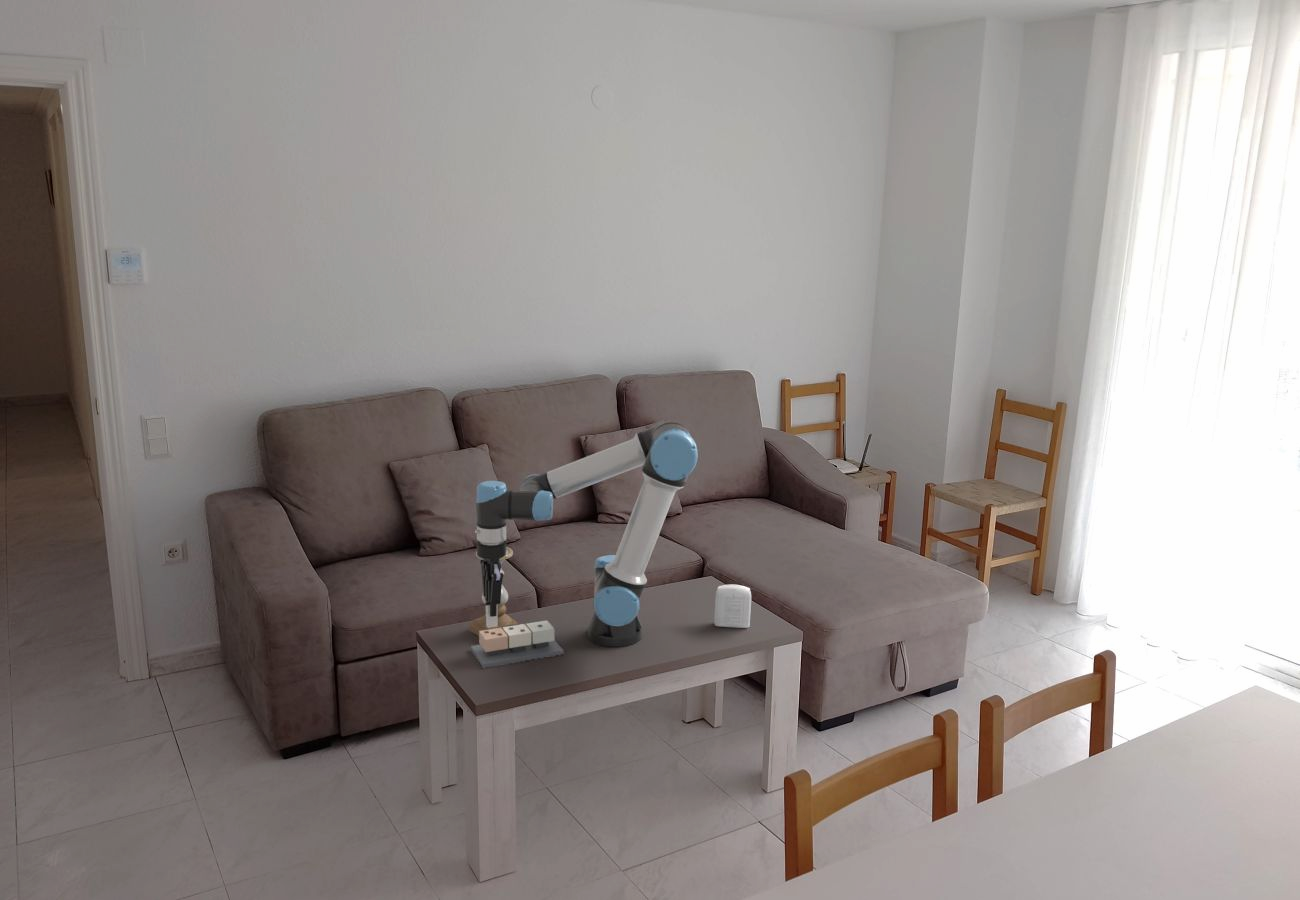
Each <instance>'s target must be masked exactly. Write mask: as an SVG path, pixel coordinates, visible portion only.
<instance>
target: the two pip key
mask: <svg viewBox="0 0 1300 900" xmlns="http://www.w3.org/2000/svg"><path fill="white" fill-rule="evenodd" d="M503 631H504V632H505V633H506V635H507V636H508V647H509V648H514V647H520V646H526V645H531V631H530V630H529V629H528V628H527V627H526V623H522V624H521V623H520V624H518V625H514V626H508V627H503Z"/></svg>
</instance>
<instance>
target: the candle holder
mask: <svg viewBox="0 0 1300 900" xmlns="http://www.w3.org/2000/svg"><path fill="white" fill-rule="evenodd" d="M513 555H514V551H513V549H512V548H510V547H508V546H506V555H505V556H504V557H502V558H500V559H499V563H501V565H502V564H503V562H504V560H507V559H510V558H511V557H512V556H513ZM475 556H476V557H477V558H478V559H479V560H482V559H483V558H480V557H479V556H478V555H477V550H476V551H475ZM500 573H503V576H504V575H505V571H503V569H502V568H501V570H500ZM481 600H482V602H483V604H485V602H486V600H485V597H484V596H483V593H482V595H481ZM508 600H509V593H508V591H507V589H506V588H505V586H504V585H503V584H502V588H501V601H500V604H498V626H497V627H490V628H487V626H486V605H485V606H484V610H483V611H484V613H485V614H484V615H482V616H481V617H478V618H474V619H473V620H472V623H469V631H470V632H471V633H472V632H473V633H472V634H473V635H475V634H476V635H477V636H476V635H475V636H476V637H478V636H479V631H483V630H489V629H495V628H502V630H503V627H508V626H514V625H519V623H518V622H517V621H516V620H515V619H513V618H512V617H511V616H509V615H508V614H507V613H506V612H507V607H506V605H505V604H506V603H507V602H508Z"/></svg>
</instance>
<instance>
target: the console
mask: <svg viewBox="0 0 1300 900" xmlns="http://www.w3.org/2000/svg"><path fill="white" fill-rule="evenodd" d="M471 650H472V651H471ZM470 651H471V653H472V654H473V653H474V654H473V655H474V657H475V656H476V657H475V658H476V660H477V659H478V660H477V661H478V663H479V662H480V663H479V665H480V666H481V665H482V666H481V668H482V669H487V668H486V667H489V668H492V667H491V666H494V667H498V666H497V665H500V666H503V665H502V664H506V665H510V664H509V663H512V664H514V663H513V662H518V661H523V660H524V661H523V662H526V661H525V660H529V661H531V660H530V659H535V660H538V659H537V658H541V659H545V658H544V657H547V658H551V656H552V657H556V655H558V656H561V654H565V653H564V651H565V650H564V649H563V648H562V646H560V644H559V643H558V642H557V641H556V640H555V639H554V641H550V642H544V643H538V644H532V642H531V645H526V646H520V647H514V648H509V647H508V649H502V650H496V651H490V652H485V651H484V649H483V648H482V646H481V645H480V644H477V645H471V646H470ZM518 663H519V662H518Z"/></svg>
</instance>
